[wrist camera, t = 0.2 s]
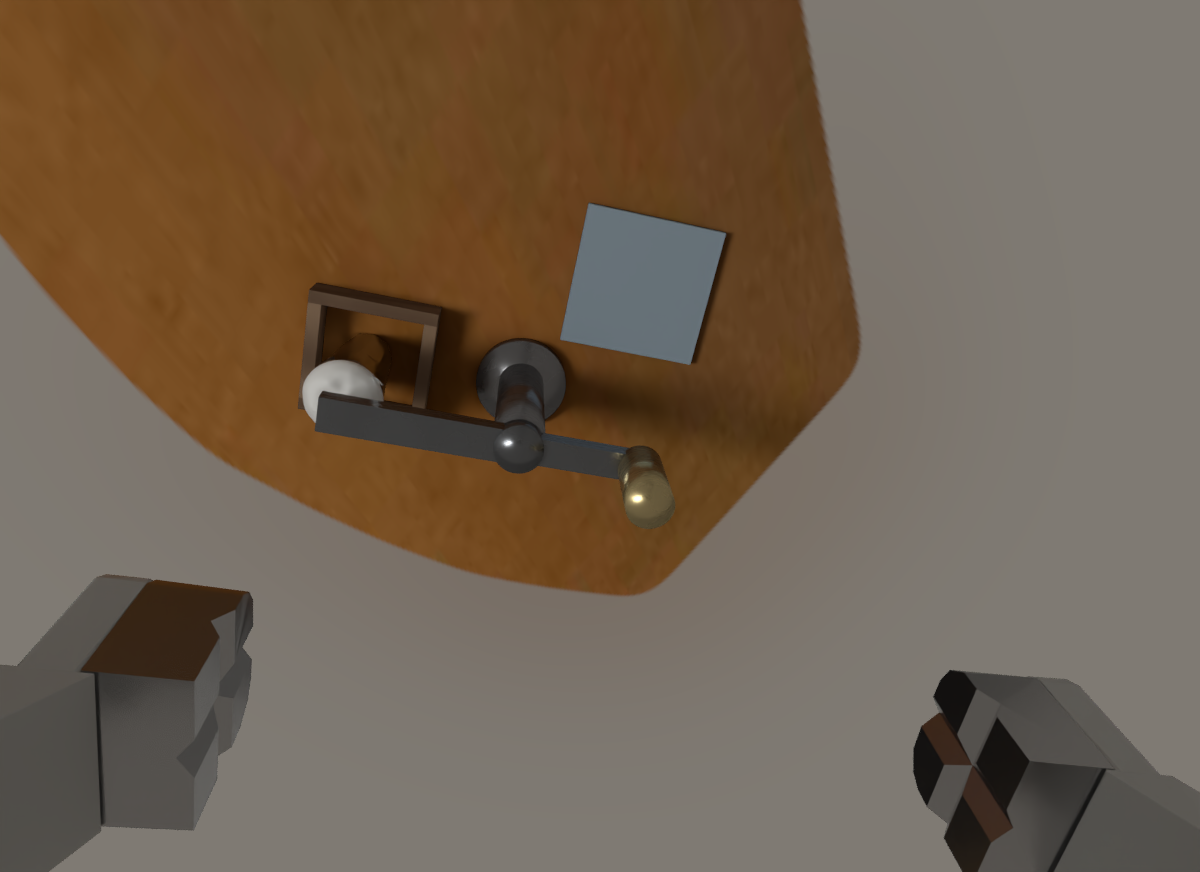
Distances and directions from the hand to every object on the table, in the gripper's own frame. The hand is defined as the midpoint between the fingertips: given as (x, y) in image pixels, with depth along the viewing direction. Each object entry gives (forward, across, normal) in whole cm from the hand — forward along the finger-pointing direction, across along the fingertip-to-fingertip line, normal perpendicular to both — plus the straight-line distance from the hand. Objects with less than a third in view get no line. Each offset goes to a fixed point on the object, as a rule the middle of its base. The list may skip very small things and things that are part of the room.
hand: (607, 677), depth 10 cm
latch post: (+47, 0, +13) cm, 49 cm away
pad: (+47, -7, +5) cm, 48 cm away
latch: (+37, +1, +13) cm, 39 cm away
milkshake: (+48, +10, +12) cm, 50 cm away
